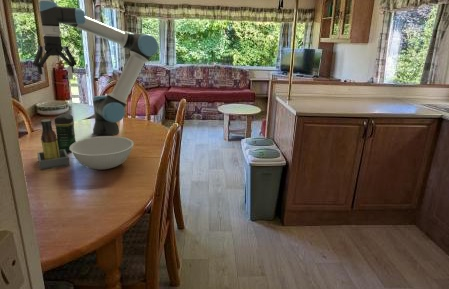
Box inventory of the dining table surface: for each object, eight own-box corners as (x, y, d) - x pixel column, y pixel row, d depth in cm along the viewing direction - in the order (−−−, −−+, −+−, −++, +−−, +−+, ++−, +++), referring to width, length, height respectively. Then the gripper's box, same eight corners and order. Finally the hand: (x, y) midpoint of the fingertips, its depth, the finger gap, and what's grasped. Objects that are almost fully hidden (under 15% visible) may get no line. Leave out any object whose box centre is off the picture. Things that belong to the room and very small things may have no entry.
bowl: (74, 157, 152) (71, 138, 149) (132, 152, 162) (131, 134, 159) (69, 180, 128) (66, 158, 125) (137, 173, 138) (136, 152, 134)
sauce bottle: (52, 158, 148) (46, 117, 142) (63, 160, 147) (58, 118, 140) (41, 163, 142) (34, 120, 136) (53, 165, 141) (46, 122, 134)
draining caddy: (65, 156, 153) (64, 149, 152) (69, 165, 143) (68, 157, 142) (38, 160, 147) (37, 152, 146) (40, 170, 137) (39, 161, 136)
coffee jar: (73, 152, 158) (69, 117, 153) (56, 153, 157) (51, 117, 151) (78, 146, 167) (74, 112, 162) (62, 147, 166) (58, 112, 160)
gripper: (27, 34, 140) (34, 82, 147) (80, 36, 159) (85, 79, 165) (20, 34, 144) (27, 81, 151) (73, 36, 163) (77, 77, 170)
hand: (57, 80), depth 158 cm, fingers open, 13 cm apart
